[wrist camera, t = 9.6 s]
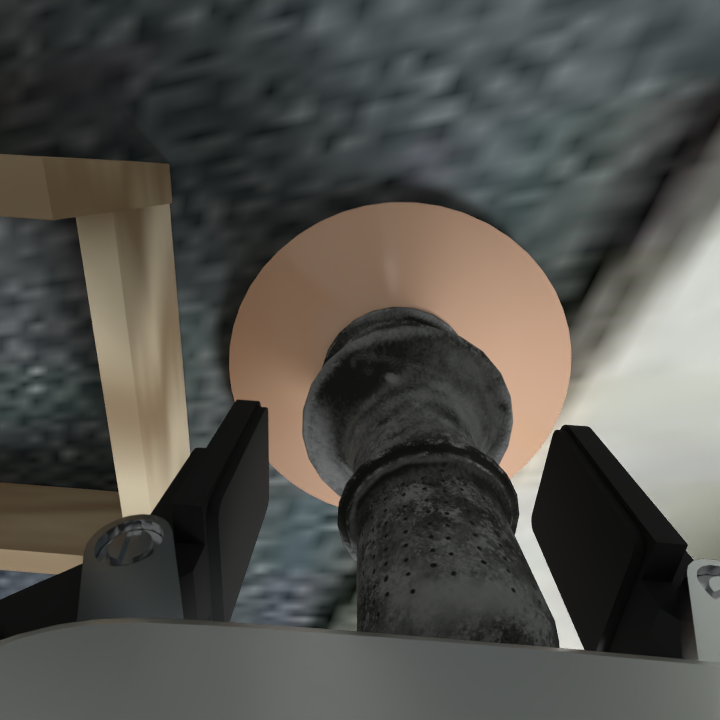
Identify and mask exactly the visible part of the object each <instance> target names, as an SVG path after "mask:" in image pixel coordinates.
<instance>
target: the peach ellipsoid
mask: <svg viewBox="0 0 720 720" xmlns="http://www.w3.org/2000/svg"><path fill="white" fill-rule="evenodd" d="M389 307H408V308H416V309H419V310H422V311H425V312H428V313H431V314H434V315H435V316H437V317H438V318H440V319H441V320H443V321H444V322H446V323H447V324H449V325H450V326H451V327H452V328H453V330H454V331H455V332H456V333H457V334H458V336H461V337H462V338H464V339H465V340H467V341H468V342H470V343H471V344H473V345H474V346H476V347H477V348H479V349H480V350H482V351H483V352H484V353H485V354H486V356H487V357H488V358H489V359H490V360H491V362H492V363H493V364H494V365H495V366H496V368H497V369H498V370H499V371H500V372H501V374H502V377H503V379H504V381H505V384H506V386H507V388H508V391H509V393H510V396H511V402H512V412H513V426H512V431H511V436H510V441H509V446H508V448H507V450H506V452H505V454H504V456H503V458H502V460H501V462H500V464H499V466H500V467H501V468H502V469H503V470H504V471H505V472H506V473H507V475H508V477H509V479H510V478H511V477H513V476H514V475H515V474H516V473H517V472H518V471H519V470H520V469H521V468H523V467H524V466H525V465H526V464H527V463H528V462H529V461H530V459H531V458H532V457H533V456H534V455H535V454H536V452H537V451H538V450H539V449H540V448H541V446H542V445H543V443H544V442H545V440H546V439H547V437H548V436H549V434H550V433H551V431H552V429H553V427H554V425H555V423H556V421H557V419H558V417H559V415H560V412H561V409H562V407H563V404H564V401H565V398H566V395H567V390H568V384H569V379H570V373H571V345H570V335H569V329H568V325H567V322H566V318H565V314H564V310H563V308H562V306H561V303H560V301H559V299H558V296H557V294H556V292H555V290H554V288H553V286H552V285H551V283H550V282H549V280H548V278H547V277H546V275H545V274H544V272H543V270H542V269H541V268H540V267H539V266H538V265H537V263H536V262H535V261H534V260H533V259H532V258H531V256H530V255H529V254H528V253H527V252H526V251H525V250H524V249H522V248H521V247H520V246H519V245H518V244H517V243H515V242H514V241H513V240H512V239H511V238H510V237H508V236H507V235H505V234H504V233H502V232H500V231H499V230H497V229H496V228H494V227H493V226H491V225H489V224H487V223H485V222H483V221H481V220H479V219H476V218H474V217H472V216H470V215H468V214H465V213H463V212H460V211H457V210H454V209H450V208H447V207H443V206H440V205H434V204H427V203H420V202H384V203H376V204H369V205H364V206H360V207H356V208H353V209H349V210H346V211H342V212H340V213H338V214H335V215H333V216H331V217H328V218H326V219H324V220H321V221H320V222H318V223H316V224H315V225H313V226H311V227H310V228H308V229H306V230H305V231H303V232H302V233H300V234H299V235H297V236H296V237H295V238H294V239H292V240H291V241H290V242H289V243H288V244H286V245H285V246H284V247H283V248H281V249H280V250H279V251H278V252H277V253H276V254H275V255H274V256H273V257H272V258H271V260H270V261H269V262H268V263H267V264H266V265H265V266H264V267H263V268H262V270H261V271H260V273H259V274H258V276H257V277H256V278H255V280H254V281H253V283H252V284H251V286H250V287H249V289H248V291H247V293H246V295H245V297H244V299H243V301H242V303H241V305H240V308H239V311H238V314H237V317H236V320H235V323H234V326H233V331H232V337H231V343H230V353H229V372H230V381H231V389H232V393H233V397H234V401H236V400H237V399H239V400H252V401H260V403H261V407H267V408H268V427H269V463H270V464H271V465H272V466H273V467H274V468H275V469H276V470H277V471H278V472H279V473H281V474H282V475H283V476H284V477H285V478H287V479H288V480H289V481H290V482H292V483H293V484H294V485H296V486H297V487H299V488H301V489H302V490H304V491H305V492H307V493H308V494H310V495H312V496H314V497H316V498H318V499H320V500H322V501H324V502H327V503H329V504H332V505H335V506H338V507H339V501H340V498H341V497H340V496H339V495H337V494H336V493H335V492H334V491H333V490H332V489H331V488H330V487H329V486H328V485H327V484H326V483H325V482H324V481H323V480H321V478H320V476H319V475H318V473H317V472H316V470H315V468H314V467H313V465H312V463H311V462H310V460H309V458H308V455H307V451H306V447H305V444H304V440H303V436H302V421H303V408H304V405H305V401H306V398H307V395H308V392H309V389H310V386H311V384H312V382H313V381H314V379H315V378H316V376H317V375H318V373H319V372H320V370H321V369H322V366H323V363H324V360H325V357H326V354H327V351H328V348H329V347H330V345H331V344H332V342H333V341H334V340H335V338H336V337H337V335H338V334H339V332H341V331H342V330H343V329H344V328H345V327H346V326H348V325H349V324H350V323H351V322H352V321H353V320H355V319H357V318H359V317H361V316H363V315H365V314H367V313H369V312H371V311H374V310H379V309H384V308H389Z"/></svg>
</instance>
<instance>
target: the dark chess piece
mask: <svg viewBox="0 0 720 720" xmlns="http://www.w3.org/2000/svg"><path fill="white" fill-rule="evenodd" d="M512 426H513V412H512V402H511V396H510V393H509V391H508V388H507V386H506V384H505V381H504V379H503V377H502V374H501V372H500V371H499V370H498V369H497V368H496V366H495V365H494V364H493V363H492V362H491V360H490V359H489V358H488V357H487V356H486V354H485V353H484V352H483V351H482V350H480V349H479V348H477V347H476V346H474V345H473V344H471V343H470V342H468V341H467V340H465V339H464V338H462V337H461V336H458V334H457V333H456V332H455V331H454V330H453V328H452V327H451V326H450V325H449V324H447V323H446V322H444V321H443V320H441V319H440V318H438V317H437V316H435V315H434V314H431V313H428V312H425V311H422V310H419V309H416V308H408V307H389V308H384V309H379V310H374V311H371V312H369V313H367V314H365V315H363V316H361V317H359V318H357V319H355V320H353V321H352V322H351V323H350V324H349V325H348V326H346V327H345V328H344V329H343V330H342V331H341V332H339V334H338V335H337V337H336V338H335V340H334V341H333V342H332V344H331V345H330V347H329V348H328V351H327V354H326V357H325V360H324V363H323V366H322V369H321V370H320V372H319V373H318V375H317V376H316V378H315V379H314V381H313V382H312V384H311V386H310V389H309V392H308V395H307V398H306V401H305V405H304V408H303V421H302V436H303V440H304V444H305V447H306V451H307V455H308V458H309V460H310V462H311V463H312V465H313V467H314V468H315V470H316V472H317V473H318V475H319V476H320V478H321V480H323V481H324V482H325V483H326V484H327V485H328V486H329V487H330V488H331V489H332V490H333V491H334V492H335V493H336V494H337V495H339V496H340V497H341V498H340V501H339V507H338V528H339V532H340V536H341V539H342V543H343V545H344V546H345V548H346V549H347V551H348V552H349V554H350V555H351V557H352V559H353V560H354V561H355V562H357V632H370V633H383V634H396V635H408V636H420V637H433V638H445V639H458V640H470V641H482V642H494V643H506V644H518V645H530V646H542V647H554V648H560V647H559V639H558V634H557V629H556V624H555V620H554V618H553V616H552V614H551V612H550V610H549V608H548V606H547V603H546V601H545V599H544V597H543V595H542V593H541V591H540V589H539V586H538V584H537V582H536V580H535V578H534V576H533V574H532V572H531V569H530V567H529V565H528V563H527V561H526V559H525V557H524V555H523V552H522V550H521V548H520V546H519V544H518V542H517V540H516V538H515V532H516V527H517V523H518V518H519V508H518V499H517V494H516V492H515V489H514V487H513V485H512V483H511V481H510V479H509V477H508V475H507V473H506V472H505V471H504V470H503V469H502V468H501V467H500V466H499V464H500V462H501V460H502V458H503V456H504V454H505V452H506V450H507V448H508V446H509V441H510V436H511V431H512Z"/></svg>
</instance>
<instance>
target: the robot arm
mask: <svg viewBox="0 0 720 720" xmlns="http://www.w3.org/2000/svg"><path fill="white" fill-rule="evenodd" d="M268 501H269V427H268V408H267V407H261V403H260V401H252V400H239V399H237V400H236V401H235V403H234V405H233V406H232V408H231V409H230V411H229V413H228V414H227V416H226V417H225V419H224V421H223V422H222V424H221V425H220V427H219V428H218V430H217V432H216V433H215V435H214V436H213V438H212V440H211V441H210V443H209V444H208V446H207V448H195V449H194V450H193V452H192V453H191V454H190V456H189V457H188V459H187V460H186V462H185V463H184V465H183V466H182V468H181V469H180V471H179V472H178V474H177V475H176V477H175V478H174V480H173V481H172V483H171V484H170V486H169V487H168V489H167V490H166V492H165V493H164V495H163V496H162V498H161V499H160V501H159V502H158V504H157V505H156V507H155V508H154V510H153V511H152V513H151V514H150V515H148V514H138V515H130V516H127V517H123V518H120V519H117V520H115V521H113V522H111V523H109V524H107V525H105V526H103V527H102V528H101V529H100V530H98V531H97V532H96V533H95V534H94V535H93V536H92V537H91V538H90V540H89V541H88V542H87V544H86V547H85V550H84V554H83V563H82V564H80V565H78V566H75V567H73V568H71V569H69V570H66V571H64V572H62V573H60V574H57V575H55V576H53V577H51V578H48V579H46V580H44V581H42V582H39V583H37V584H35V585H32V586H30V587H28V588H26V589H23V590H21V591H19V592H17V593H14V594H12V595H10V596H8V597H5V598H3V599H1V600H0V720H720V561H717V560H711V559H699V560H693V559H692V558H691V556H690V555H689V554H688V553H687V552H686V548H687V546H688V544H687V543H686V542H685V541H684V539H683V538H682V537H681V536H680V535H679V533H678V532H677V531H676V530H675V529H674V527H673V526H672V525H671V524H670V523H669V521H668V520H667V519H666V518H665V517H664V515H663V514H662V513H661V512H660V511H659V509H658V508H657V507H656V506H655V505H654V503H653V502H652V501H651V500H650V499H649V497H648V496H647V495H646V494H645V493H644V491H643V490H642V489H641V488H640V487H639V486H638V484H637V483H636V482H635V481H634V480H633V478H632V477H631V476H630V475H629V474H628V472H627V471H626V470H625V469H624V468H623V466H622V465H621V464H620V463H619V462H618V460H617V459H616V458H615V457H614V456H613V454H612V453H611V452H610V451H609V450H608V448H607V447H606V446H605V445H604V444H603V442H602V441H601V440H600V439H599V438H598V436H597V435H596V434H595V433H594V432H593V430H592V429H591V428H590V427H587V426H574V425H564V426H562V428H561V429H560V430H555V432H554V433H553V436H552V440H551V444H550V447H549V451H548V455H547V459H546V463H545V467H544V471H543V474H542V478H541V482H540V486H539V490H538V494H537V498H536V501H535V505H534V509H533V513H532V520H531V522H532V529H533V532H534V534H535V537H536V539H537V541H538V544H539V546H540V548H541V550H542V553H543V555H544V557H545V560H546V562H547V564H548V567H549V569H550V571H551V574H552V576H553V578H554V580H555V583H556V585H557V587H558V590H559V592H560V594H561V597H562V599H563V601H564V604H565V606H566V608H567V611H568V613H569V615H570V617H571V620H572V622H573V624H574V627H575V629H576V631H577V634H578V636H579V638H580V641H581V643H582V645H583V647H584V650H576V649H565V648H554V647H542V646H530V645H518V644H506V643H494V642H482V641H470V640H458V639H445V638H433V637H420V636H408V635H396V634H383V633H370V632H357V631H344V630H330V629H317V628H304V627H291V626H278V625H264V624H251V623H236V622H230V619H231V616H232V613H233V610H234V607H235V604H236V601H237V598H238V595H239V592H240V589H241V586H242V583H243V580H244V577H245V574H246V571H247V568H248V565H249V562H250V559H251V556H252V553H253V550H254V547H255V544H256V541H257V538H258V535H259V532H260V529H261V526H262V523H263V520H264V517H265V514H266V510H267V507H268Z"/></svg>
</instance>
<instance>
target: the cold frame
mask: <svg viewBox="0 0 720 720" xmlns="http://www.w3.org/2000/svg"><path fill="white" fill-rule="evenodd" d="M171 203H172V191H171V179H170V166H169V164H166V163H152V162H139V161H122V160H104V159H85V158H66V157H48V156H29V155H10V154H0V216H4V217H17V218H31V219H44V220H58V219H65V218H72V217H76V223H77V229H78V235H79V242H80V248H81V255H82V261H83V267H84V274H85V280H86V286H87V293H88V299H89V306H90V312H91V318H92V325H93V331H94V337H95V344H96V350H97V357H98V363H99V369H100V376H101V382H102V389H103V395H104V401H105V408H106V414H107V420H108V427H109V433H110V440H111V446H112V452H113V459H114V465H115V471H116V478H117V484H118V491H119V492H116V491H104V490H91V489H79V488H66V487H54V486H41V485H29V484H16V483H3V482H0V570H10V571H23V572H35V573H47V574H60V573H62V572H64V571H66V570H69V569H71V568H73V567H75V566H78V565H80V564H82V563H83V554H84V550H85V547H86V544H87V542H88V541H89V540H90V538H91V537H92V536H93V535H94V534H95V533H96V532H97V531H98V530H100V529H101V528H102V527H103V526H105V525H107V524H109V523H111V522H113V521H115V520H117V519H120V518H123V517H127V516H130V515H138V514H148V515H150V514H151V513H152V511H153V510H154V508H155V507H156V505H157V504H158V502H159V501H160V499H161V498H162V496H163V495H164V493H165V492H166V490H167V489H168V487H169V486H170V484H171V483H172V481H173V480H174V478H175V477H176V475H177V474H178V472H179V471H180V469H181V468H182V466H183V465H184V463H185V462H186V460H187V459H188V457H189V456H190V445H189V433H188V421H187V409H186V397H185V385H184V373H183V361H182V349H181V337H180V325H179V312H178V300H177V288H176V276H175V264H174V252H173V240H172V228H171V216H170V204H171Z"/></svg>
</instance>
